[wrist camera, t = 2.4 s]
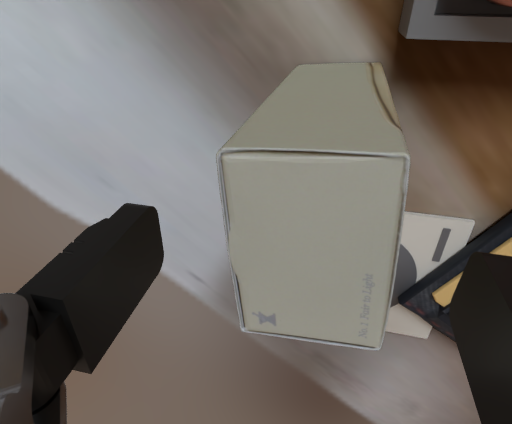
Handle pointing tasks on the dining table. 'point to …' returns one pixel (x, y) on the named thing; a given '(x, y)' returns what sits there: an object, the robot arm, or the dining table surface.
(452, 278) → the wallet
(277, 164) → the skincare box
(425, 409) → the dining table surface
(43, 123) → the dining table surface
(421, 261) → the white square panel
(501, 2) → the button
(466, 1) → the button housing
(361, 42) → the dining table surface
